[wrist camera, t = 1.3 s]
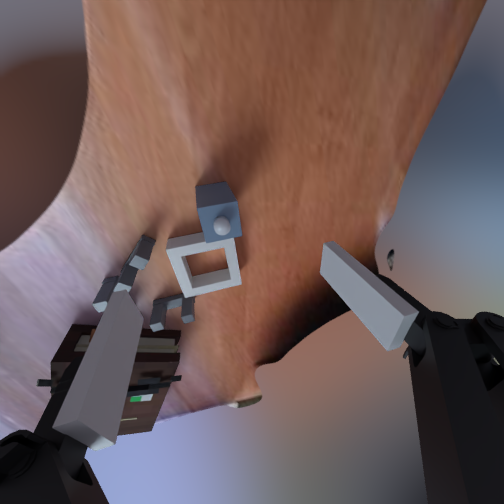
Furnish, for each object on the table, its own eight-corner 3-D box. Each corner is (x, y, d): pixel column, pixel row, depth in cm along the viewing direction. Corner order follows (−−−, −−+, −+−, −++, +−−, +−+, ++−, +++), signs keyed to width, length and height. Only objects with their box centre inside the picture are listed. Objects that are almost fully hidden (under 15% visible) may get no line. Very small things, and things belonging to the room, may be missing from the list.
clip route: (169, 229, 28) (166, 247, 24) (194, 298, 36) (195, 321, 32) (82, 246, 27) (63, 268, 23) (128, 315, 34) (120, 341, 30)
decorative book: (41, 456, 38) (33, 357, 25) (62, 409, 44) (64, 311, 32) (154, 440, 46) (190, 358, 33) (158, 401, 52) (190, 320, 39)
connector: (226, 181, 27) (239, 205, 19) (230, 209, 29) (244, 241, 22) (195, 186, 26) (197, 213, 19) (202, 215, 29) (206, 249, 21)
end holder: (230, 226, 30) (233, 235, 28) (238, 272, 35) (241, 284, 33) (167, 238, 29) (165, 249, 27) (185, 285, 34) (185, 298, 32)
